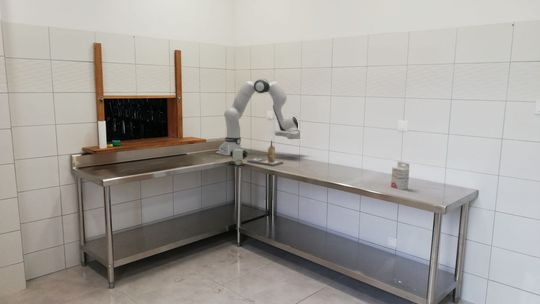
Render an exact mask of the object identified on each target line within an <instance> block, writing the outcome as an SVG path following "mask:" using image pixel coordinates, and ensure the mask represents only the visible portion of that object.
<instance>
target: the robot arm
mask: <svg viewBox="0 0 540 304" xmlns="http://www.w3.org/2000/svg"><path fill="white" fill-rule="evenodd" d="M255 92H256V93H257V94H265V93H268V94H269V96H270V97H271V99H272V101H273V105H272V109H273V112H274V115H275V117H276V120H277V123H278V126H279V130H274V135H275V136H276V137H283V138H287V139H288V140H297V139H298V140H299V139H301V138H300V131H299V130H298V122H297V119H296V118H295V117H293V116H291V117H289V118H287V119H283V118H284V116H283V113H282V108H283V106H284V105H285V103H286V102H287V95H286V93H285V91H284V89H283V87H282V86H281V85H280V83H279V82H278V81H276V80H275V81H271V82H269V81H268V80H267V79H264V78H259V79H257V80H256V81H251V80H247V81H245V82H244V83H243V84H242V85H241V87H240V89H239V90H238V91H237V94H236V95H235V98H234V101H233V103H232V105H231V107H228V108H227V109H226V110H225V111H224V115H223V116H224V118H225V124H226V137H224V141H223V143H222V144H221V145H219V148H218V150H217V151H216V152H215V153H216V154H220V155H224V156H230V152H231V151H232V150H233V149H238V148H239V149H240V150H242V145H241V141H242V137H241V126H240V121H239V120H240V119H241V118H242V116H243V114H244V112H245V110H246V107H247V105H248V103H249V102H250V100H251V98H252V97H253V95H254V93H255ZM284 120H285V121H284Z"/></svg>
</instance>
